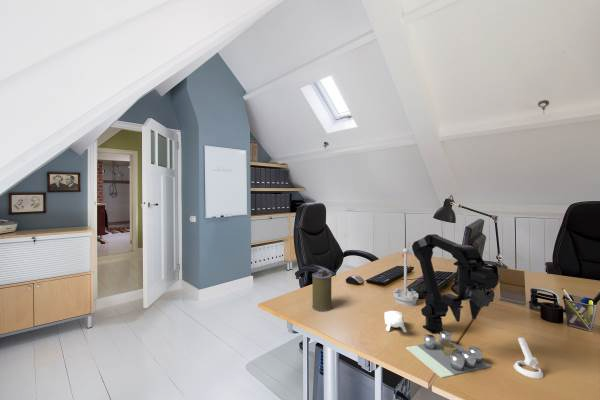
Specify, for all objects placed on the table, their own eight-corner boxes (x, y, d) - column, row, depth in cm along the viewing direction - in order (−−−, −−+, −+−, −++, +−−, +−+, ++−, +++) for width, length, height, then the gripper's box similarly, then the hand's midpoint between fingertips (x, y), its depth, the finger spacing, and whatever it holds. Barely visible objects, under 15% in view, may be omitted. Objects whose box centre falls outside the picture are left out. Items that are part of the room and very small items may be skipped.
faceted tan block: (438, 351, 103) (438, 344, 103) (448, 348, 105) (448, 340, 105) (450, 359, 98) (450, 350, 98) (460, 354, 101) (460, 346, 101)
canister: (325, 313, 137) (325, 273, 137) (308, 308, 143) (308, 270, 143) (335, 306, 146) (335, 269, 145) (319, 301, 152) (319, 266, 151)
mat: (405, 347, 106) (405, 347, 106) (449, 339, 112) (449, 339, 112) (441, 378, 89) (441, 377, 89) (491, 366, 94) (491, 365, 94)
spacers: (420, 344, 108) (421, 334, 108) (448, 339, 111) (448, 329, 111) (457, 372, 91) (457, 360, 91) (488, 365, 95) (488, 353, 94)
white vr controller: (512, 340, 101) (531, 337, 96) (529, 379, 94) (550, 378, 89) (498, 340, 99) (517, 336, 94) (514, 379, 92) (536, 378, 87)
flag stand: (422, 306, 145) (422, 250, 144) (397, 306, 145) (397, 250, 144) (412, 297, 158) (412, 245, 157) (390, 297, 158) (390, 245, 157)
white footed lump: (383, 329, 127) (388, 332, 113) (382, 309, 130) (387, 310, 116) (402, 330, 125) (410, 334, 112) (400, 310, 128) (408, 311, 114)
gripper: (465, 289, 93) (464, 334, 93) (506, 284, 98) (505, 327, 98) (440, 279, 103) (439, 319, 104) (478, 275, 108) (477, 313, 109)
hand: (465, 320), depth 103 cm, fingers open, 7 cm apart
